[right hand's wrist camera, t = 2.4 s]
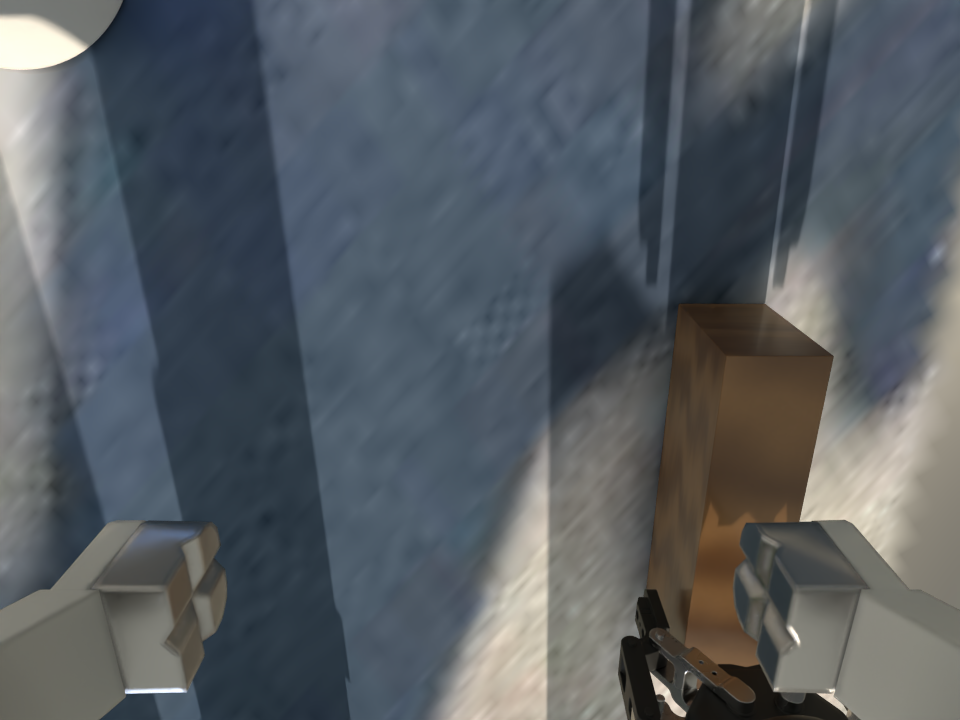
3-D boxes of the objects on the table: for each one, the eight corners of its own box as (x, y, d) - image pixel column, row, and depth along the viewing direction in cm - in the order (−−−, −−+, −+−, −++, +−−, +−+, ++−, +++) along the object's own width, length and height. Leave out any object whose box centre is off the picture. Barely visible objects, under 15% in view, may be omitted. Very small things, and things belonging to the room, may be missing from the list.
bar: (678, 303, 42) (726, 355, 34) (765, 303, 42) (834, 355, 34) (645, 591, 50) (677, 689, 42) (718, 591, 50) (764, 689, 42)
